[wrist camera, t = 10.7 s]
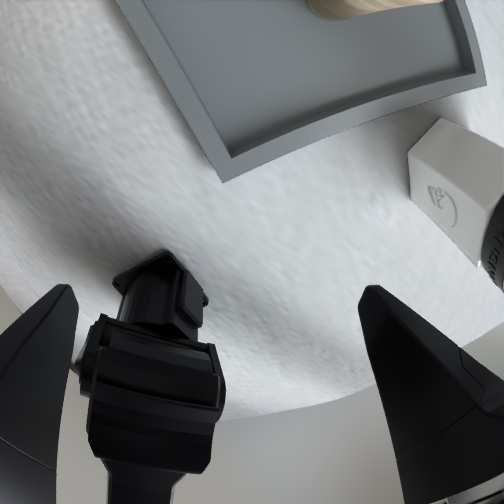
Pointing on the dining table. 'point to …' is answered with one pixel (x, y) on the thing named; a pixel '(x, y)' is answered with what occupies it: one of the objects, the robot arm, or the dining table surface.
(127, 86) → the dining table surface
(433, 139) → the jar
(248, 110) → the tray
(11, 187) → the dining table surface
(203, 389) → the robot arm
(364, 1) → the pin
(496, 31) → the dining table surface
